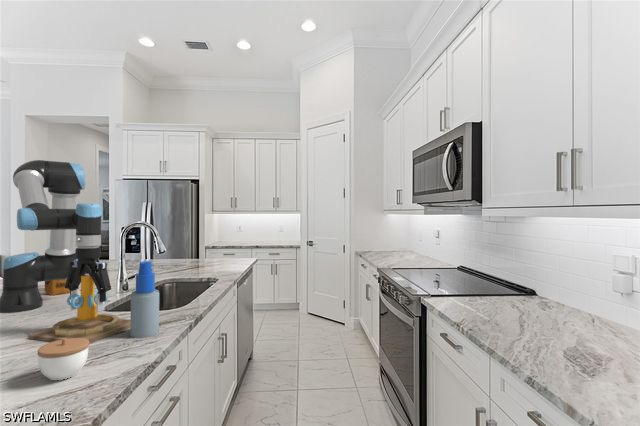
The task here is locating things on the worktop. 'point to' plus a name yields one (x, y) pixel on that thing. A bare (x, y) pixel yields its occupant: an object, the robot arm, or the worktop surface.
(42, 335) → the seat plate
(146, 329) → the spray bottle
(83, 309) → the cylinder
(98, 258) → the robot arm
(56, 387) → the worktop surface
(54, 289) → the coffee package
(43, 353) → the lidded jar
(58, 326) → the tan flat ring
